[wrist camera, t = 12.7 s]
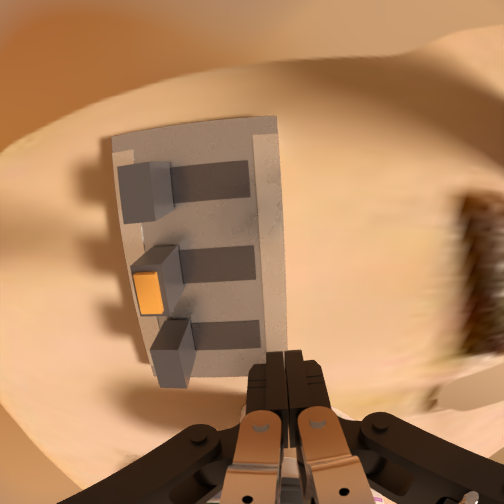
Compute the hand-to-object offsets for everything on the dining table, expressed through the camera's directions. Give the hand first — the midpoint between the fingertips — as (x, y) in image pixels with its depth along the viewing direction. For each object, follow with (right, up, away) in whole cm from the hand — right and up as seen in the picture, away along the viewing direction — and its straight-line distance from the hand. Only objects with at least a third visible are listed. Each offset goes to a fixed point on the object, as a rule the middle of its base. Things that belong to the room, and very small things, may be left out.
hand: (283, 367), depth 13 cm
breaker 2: (-8, -3, +16) cm, 18 cm away
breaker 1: (-9, +10, +12) cm, 18 cm away
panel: (-5, +4, +16) cm, 17 cm away
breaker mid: (-9, +4, +14) cm, 17 cm away
